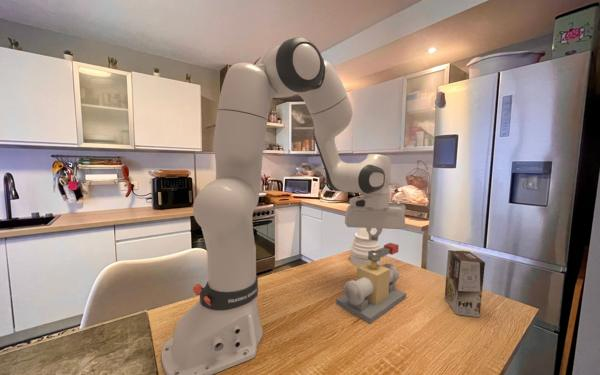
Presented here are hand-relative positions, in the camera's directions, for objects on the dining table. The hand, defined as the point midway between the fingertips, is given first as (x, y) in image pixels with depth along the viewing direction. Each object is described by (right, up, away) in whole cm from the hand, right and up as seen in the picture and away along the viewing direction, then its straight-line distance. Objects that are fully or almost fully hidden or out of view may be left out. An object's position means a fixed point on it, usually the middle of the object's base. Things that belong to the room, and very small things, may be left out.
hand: (373, 240), depth 86 cm
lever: (+1, -3, -8) cm, 8 cm away
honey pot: (+3, -14, +20) cm, 25 cm away
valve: (-3, -17, -10) cm, 20 cm away
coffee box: (+23, -18, -12) cm, 31 cm away
